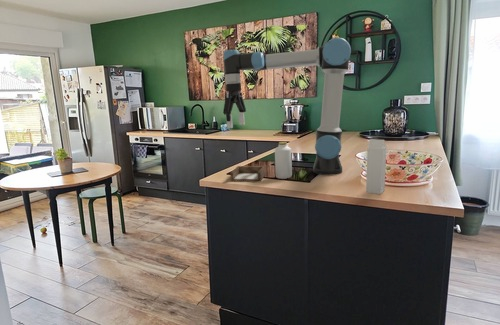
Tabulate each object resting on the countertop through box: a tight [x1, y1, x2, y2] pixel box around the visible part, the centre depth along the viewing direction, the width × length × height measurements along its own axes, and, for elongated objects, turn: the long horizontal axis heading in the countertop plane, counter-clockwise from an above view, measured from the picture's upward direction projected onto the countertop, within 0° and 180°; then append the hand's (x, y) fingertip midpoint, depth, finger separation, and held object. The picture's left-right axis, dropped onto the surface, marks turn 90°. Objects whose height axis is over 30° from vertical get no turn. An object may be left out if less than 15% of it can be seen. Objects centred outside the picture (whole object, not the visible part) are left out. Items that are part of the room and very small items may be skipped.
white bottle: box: [274, 141, 293, 180], centre depth 159 cm, size 8×8×18 cm
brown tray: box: [230, 165, 266, 183], centre depth 163 cm, size 15×14×4 cm
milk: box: [365, 138, 387, 195], centre depth 130 cm, size 6×6×22 cm
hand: (236, 126), depth 160 cm, fingers open, 13 cm apart
